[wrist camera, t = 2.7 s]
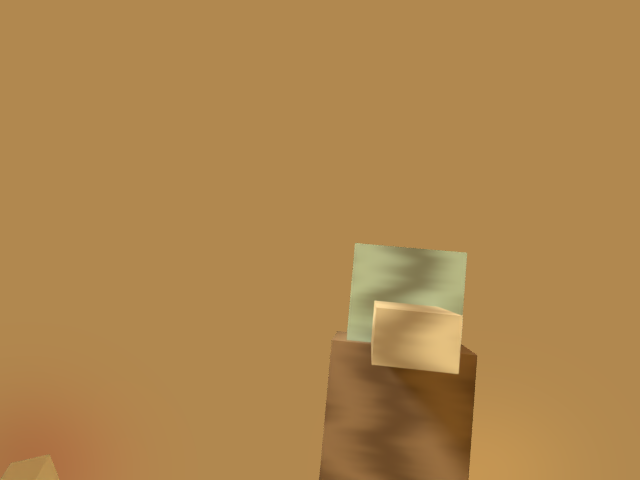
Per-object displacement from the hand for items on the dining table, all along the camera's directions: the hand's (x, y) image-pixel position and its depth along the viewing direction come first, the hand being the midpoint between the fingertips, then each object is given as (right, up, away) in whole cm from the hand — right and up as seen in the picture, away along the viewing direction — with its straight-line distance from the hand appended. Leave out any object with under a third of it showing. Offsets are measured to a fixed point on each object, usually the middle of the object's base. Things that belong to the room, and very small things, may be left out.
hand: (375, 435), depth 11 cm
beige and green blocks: (+5, -3, +24) cm, 25 cm away
